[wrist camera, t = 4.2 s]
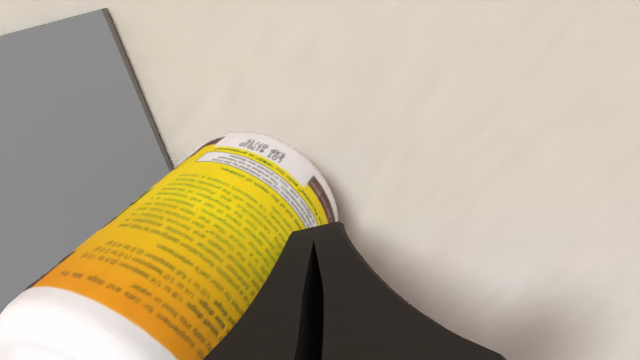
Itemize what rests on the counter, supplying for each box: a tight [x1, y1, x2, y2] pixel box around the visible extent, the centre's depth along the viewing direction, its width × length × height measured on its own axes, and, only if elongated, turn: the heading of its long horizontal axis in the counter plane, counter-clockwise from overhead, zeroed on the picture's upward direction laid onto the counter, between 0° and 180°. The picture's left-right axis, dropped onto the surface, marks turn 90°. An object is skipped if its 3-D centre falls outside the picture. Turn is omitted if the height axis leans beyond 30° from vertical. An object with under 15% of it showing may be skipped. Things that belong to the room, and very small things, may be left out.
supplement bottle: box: [0, 132, 338, 360], centre depth 12 cm, size 6×6×10 cm
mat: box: [0, 8, 173, 314], centre depth 18 cm, size 14×14×1 cm
